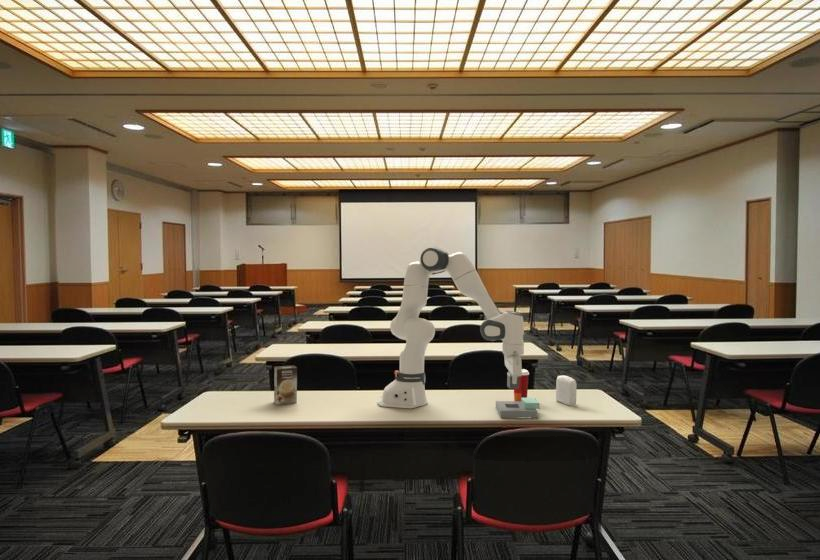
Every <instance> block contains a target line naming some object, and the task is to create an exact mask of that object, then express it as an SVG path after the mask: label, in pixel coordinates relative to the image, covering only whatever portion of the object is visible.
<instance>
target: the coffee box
mask: <svg viewBox="0 0 820 560" xmlns="http://www.w3.org/2000/svg"><path fill="white" fill-rule="evenodd" d="M273 376H274V377H273V378H274V379H273V381H274V382H273V383H274V386H273V387H274V391H273V402H274V403H275V404H276V406H277V405H278V406H279V405H287V404H288V405H289V404H297V402H298V401H297V399H298V398H297V397H298V396H297V395H298V394H297V393H298V389H297V388H298V367H297V366H296V365H281V366H280V365H278V366H274V375H273Z"/></svg>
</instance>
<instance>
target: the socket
mask: <svg viewBox="0 0 820 560" xmlns="http://www.w3.org/2000/svg"><path fill="white" fill-rule="evenodd" d="M496 409H497V410H496ZM495 410H496V412H497V411H498V412H497V414H498V416H499V418H500V417H508V418H507V419H518V418H517V417H531V418H530V419H538V409H525V408H524V407H523V405H522V404H521V401H515V400H514V401H512V400H511V401H509V400H495ZM509 417H511V418H509Z"/></svg>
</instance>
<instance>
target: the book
mask: <svg viewBox="0 0 820 560" xmlns="http://www.w3.org/2000/svg"><path fill="white" fill-rule="evenodd" d="M555 382H556V383H555V384H556V385H555V387H556V388H555V400H556V401H557V402H559V403H562V404H564V405H566V406H569V407H575V406H576V405H577V385H578V384H577V381H576V379H574V378H573V377H571V376H568V375H557V378H556V381H555Z"/></svg>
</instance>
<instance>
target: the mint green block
mask: <svg viewBox="0 0 820 560" xmlns="http://www.w3.org/2000/svg"><path fill="white" fill-rule="evenodd" d="M521 404H522V405H523V407H524V408H525V409H536V410H540V402H539V401H538V399H537V397H527V398H521Z"/></svg>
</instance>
